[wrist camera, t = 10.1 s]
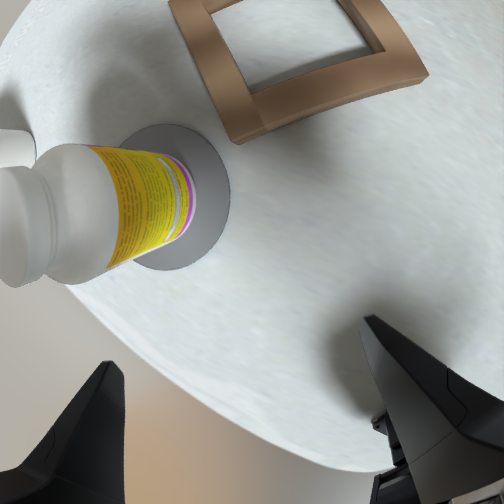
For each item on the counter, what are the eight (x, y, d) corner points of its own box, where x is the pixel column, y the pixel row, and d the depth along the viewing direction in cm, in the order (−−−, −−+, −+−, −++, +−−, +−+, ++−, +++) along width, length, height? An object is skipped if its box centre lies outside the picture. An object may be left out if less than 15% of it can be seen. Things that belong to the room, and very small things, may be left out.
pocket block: (419, 83, 14) (429, 74, 12) (238, 145, 18) (230, 141, 16) (328, -40, 12) (328, -54, 10) (177, 12, 16) (167, 1, 14)
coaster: (261, 174, 18) (259, 174, 17) (182, 295, 21) (179, 298, 21) (145, 103, 18) (141, 101, 18) (90, 217, 22) (86, 218, 21)
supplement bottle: (182, 138, 18) (25, 102, 6) (213, 226, 19) (71, 296, 7) (113, 176, 20) (-31, 190, 7) (139, 254, 21) (4, 321, 8)
